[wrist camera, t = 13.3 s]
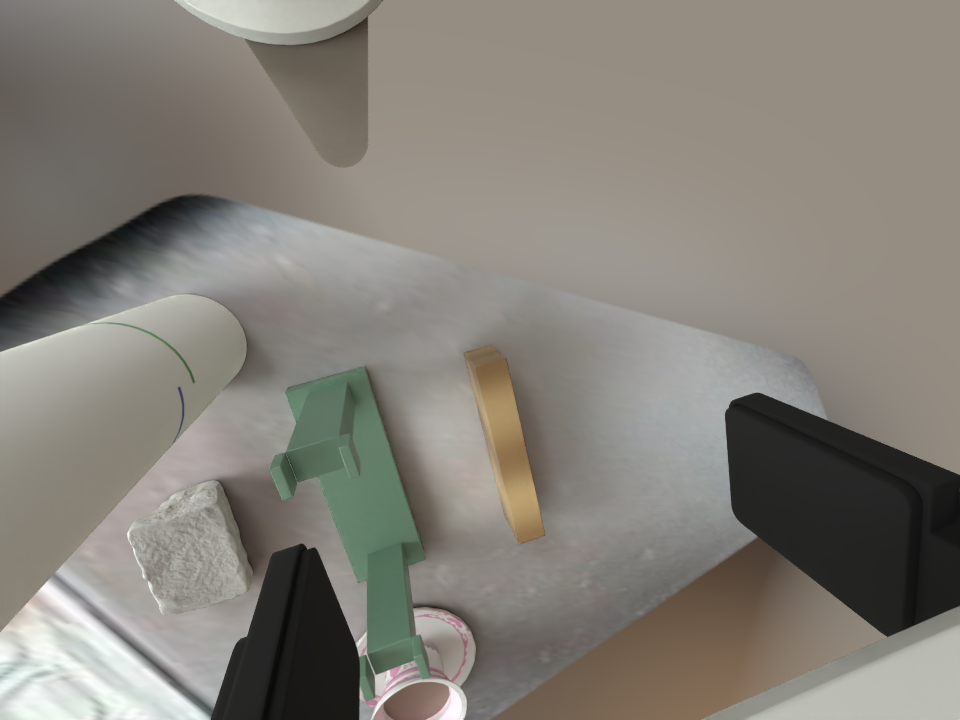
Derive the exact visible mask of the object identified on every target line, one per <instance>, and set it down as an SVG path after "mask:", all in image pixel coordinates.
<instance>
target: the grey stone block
mask: <svg viewBox="0 0 960 720" xmlns="http://www.w3.org/2000/svg"><path fill="white" fill-rule="evenodd" d="M127 536H128V540H129V541H130V543H131V547H132V548H133V549H134V554H135V557H136V559H137V562H138V564H139V565H140V567H141V568H142V571H143V579H145V580H147V581H148V584H149V588H150V590H151V592H152V594H153V595H154V598H155V599H156V600H157V602H158V604H159V607H160V611H161V612H162V614H164V615H168V614H180V613H184V612H188V611H194V610H197V609H200V608H206V607H209V606H212V605H215V604H218V603H221V602H224V601H226V600H229V599H233V598H235V597H238V596H240V595H242V594H244V593H246V592H247V591H248V590H249V589H250V586H251V584H252V575H253V571H252V568H251V566H250V564H249V563H248V561H247V553H246V551H245V550H244V547H243V545H242V542H241V539H240V532H239V529H238V526H237V523H236V521H235V519H234V517H233V514H232V511H231V507H230V505H229V502H228V499H227V497H226V495H225V493H224V490H223V488H222V486H221V484H220V482H218V481H216V480H211V481H207V482H203V483H201V484H198V485H195V486H193V487H190V488H187V489H184V490H181V491H179V492H177V493H175V494H173V495H172V496H171V497H170V498H169V499H168V501H165V502H163V503H162V504H161V506H160V508H159V509H157V510H156V511H154V512H153V513H152V514H148V515H145V516H143V517H141V518H139V519H137V520H136V521H135V522H134V523H133V524H132V525H131V527H130V529H129V531H128V535H127Z"/></svg>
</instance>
